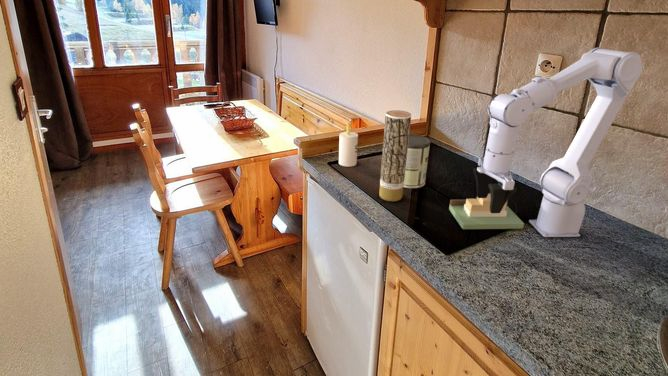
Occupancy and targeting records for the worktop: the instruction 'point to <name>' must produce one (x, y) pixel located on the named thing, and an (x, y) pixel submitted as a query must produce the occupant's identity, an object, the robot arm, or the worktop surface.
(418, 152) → the coffee can
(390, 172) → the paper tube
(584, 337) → the worktop surface
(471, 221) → the green board
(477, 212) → the wooden step block
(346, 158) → the candle
